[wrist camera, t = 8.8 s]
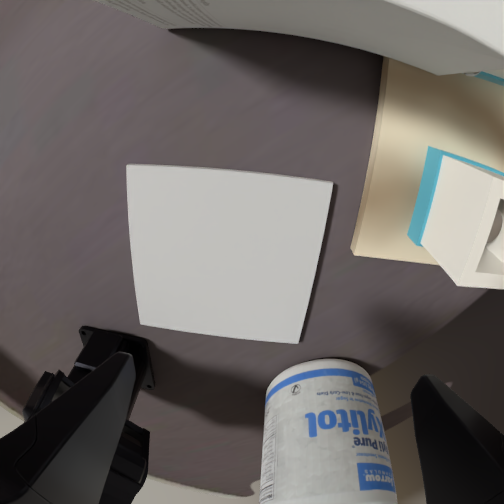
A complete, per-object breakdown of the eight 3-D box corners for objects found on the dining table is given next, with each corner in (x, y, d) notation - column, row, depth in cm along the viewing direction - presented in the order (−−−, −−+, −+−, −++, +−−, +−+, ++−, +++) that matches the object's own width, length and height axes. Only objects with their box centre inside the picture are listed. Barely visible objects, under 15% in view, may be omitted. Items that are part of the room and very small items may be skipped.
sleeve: (471, 245, 17) (520, 293, 12) (406, 235, 17) (452, 289, 12) (493, 167, 15) (554, 198, 9) (428, 145, 15) (491, 171, 9)
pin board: (484, 264, 19) (519, 301, 14) (350, 247, 19) (372, 292, 14) (524, 24, 10) (568, 20, 5) (386, -49, 10) (417, -82, 5)
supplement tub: (382, 350, 23) (429, 515, 10) (356, 413, 27) (376, 542, 14) (265, 352, 23) (257, 539, 10) (262, 416, 28) (255, 552, 14)
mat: (297, 340, 22) (298, 343, 22) (142, 320, 22) (140, 324, 22) (331, 181, 17) (333, 183, 17) (129, 163, 17) (126, 165, 17)
